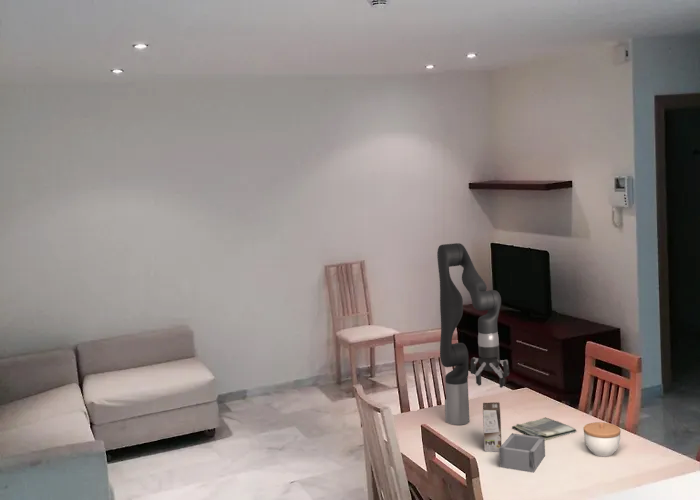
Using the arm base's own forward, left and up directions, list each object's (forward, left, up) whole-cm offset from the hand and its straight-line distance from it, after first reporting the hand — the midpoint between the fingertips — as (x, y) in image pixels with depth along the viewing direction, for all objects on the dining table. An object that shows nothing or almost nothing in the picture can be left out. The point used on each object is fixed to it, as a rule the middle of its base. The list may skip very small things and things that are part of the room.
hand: (490, 386), depth 265 cm
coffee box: (0, 0, -24) cm, 24 cm away
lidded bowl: (+38, +9, -24) cm, 46 cm away
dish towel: (+13, +23, -25) cm, 36 cm away
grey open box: (+14, -9, -24) cm, 29 cm away
